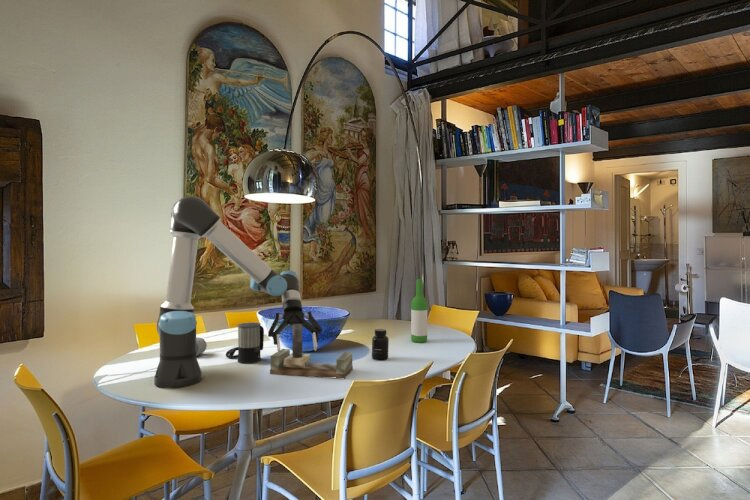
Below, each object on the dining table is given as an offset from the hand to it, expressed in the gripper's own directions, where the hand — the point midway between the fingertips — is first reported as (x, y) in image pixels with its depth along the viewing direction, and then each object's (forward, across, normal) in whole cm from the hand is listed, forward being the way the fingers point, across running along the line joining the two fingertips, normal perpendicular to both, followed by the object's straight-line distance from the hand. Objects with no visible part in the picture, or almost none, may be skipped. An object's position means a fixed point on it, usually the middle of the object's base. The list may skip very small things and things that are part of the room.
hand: (297, 350), depth 172 cm
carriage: (+3, 0, -6) cm, 7 cm away
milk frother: (-12, +18, -24) cm, 33 cm away
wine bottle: (-19, -64, -30) cm, 73 cm away
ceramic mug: (-21, +39, -33) cm, 55 cm away
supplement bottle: (-1, -35, -13) cm, 38 cm away
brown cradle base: (+6, -5, -5) cm, 10 cm away
